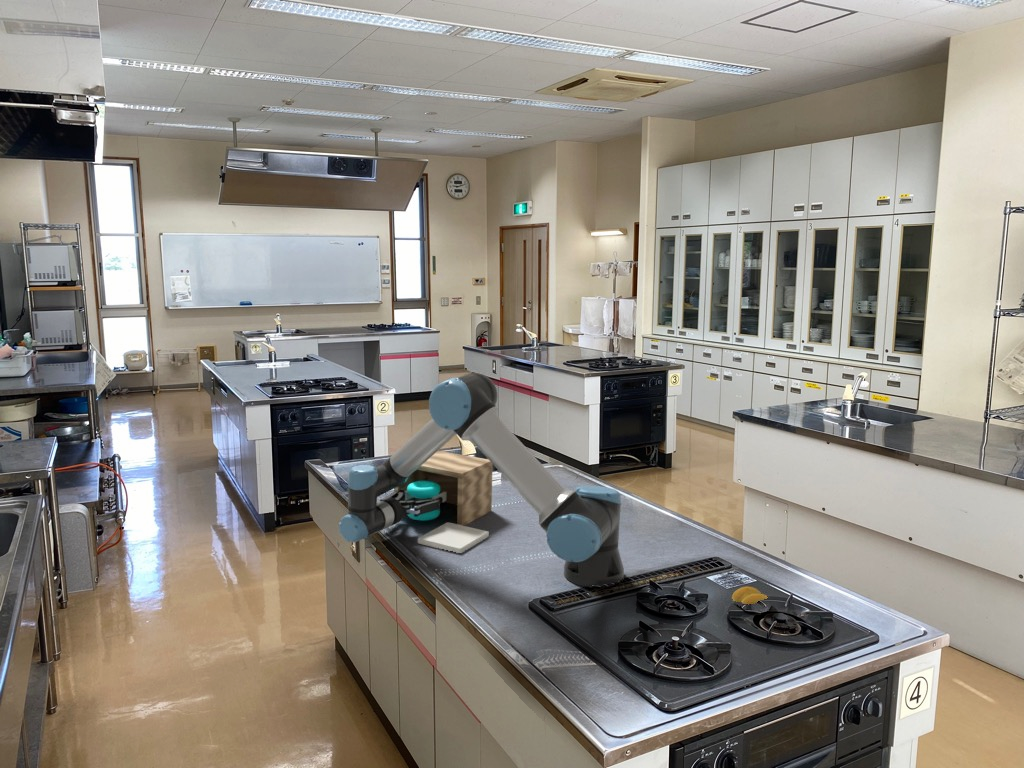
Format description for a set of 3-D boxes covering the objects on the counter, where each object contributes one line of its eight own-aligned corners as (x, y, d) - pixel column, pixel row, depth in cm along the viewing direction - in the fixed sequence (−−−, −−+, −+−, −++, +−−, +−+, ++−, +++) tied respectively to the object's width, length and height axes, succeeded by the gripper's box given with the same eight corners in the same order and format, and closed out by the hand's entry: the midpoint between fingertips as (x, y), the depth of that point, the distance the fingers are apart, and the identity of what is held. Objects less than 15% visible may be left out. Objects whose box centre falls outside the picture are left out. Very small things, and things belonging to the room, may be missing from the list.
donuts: (446, 482, 224) (429, 491, 215) (445, 514, 226) (429, 524, 217) (417, 477, 228) (400, 486, 219) (417, 508, 230) (400, 518, 221)
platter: (460, 554, 199) (460, 548, 199) (417, 543, 206) (417, 538, 206) (488, 536, 212) (488, 531, 212) (447, 527, 219) (447, 522, 219)
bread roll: (750, 617, 168) (751, 601, 168) (726, 600, 177) (727, 585, 176) (779, 612, 171) (781, 596, 171) (754, 596, 180) (755, 580, 179)
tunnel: (461, 527, 219) (462, 473, 216) (394, 511, 231) (394, 460, 228) (491, 510, 234) (492, 460, 231) (426, 496, 246) (427, 448, 243)
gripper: (355, 519, 213) (403, 498, 232) (416, 534, 202) (461, 511, 222) (354, 494, 212) (403, 475, 231) (416, 508, 201) (462, 487, 220)
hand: (431, 493), depth 226 cm, fingers closed on donuts, 9 cm apart
